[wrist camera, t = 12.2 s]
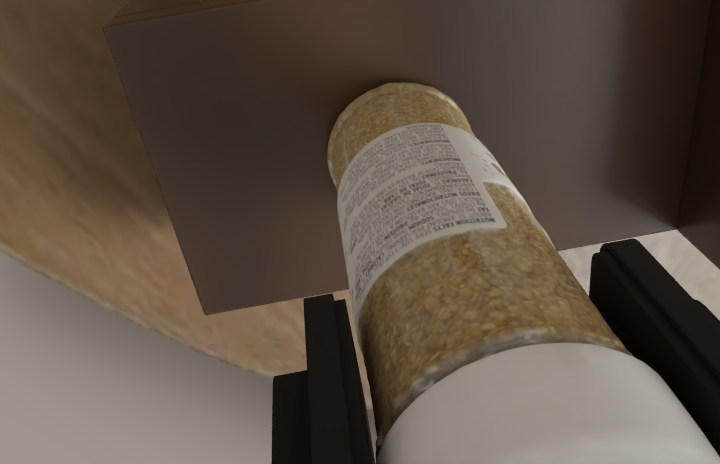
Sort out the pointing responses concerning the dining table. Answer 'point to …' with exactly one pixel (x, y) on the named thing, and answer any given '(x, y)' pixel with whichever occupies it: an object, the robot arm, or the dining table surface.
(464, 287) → the sprinkles bottle
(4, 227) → the dining table surface
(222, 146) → the shelf
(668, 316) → the robot arm
